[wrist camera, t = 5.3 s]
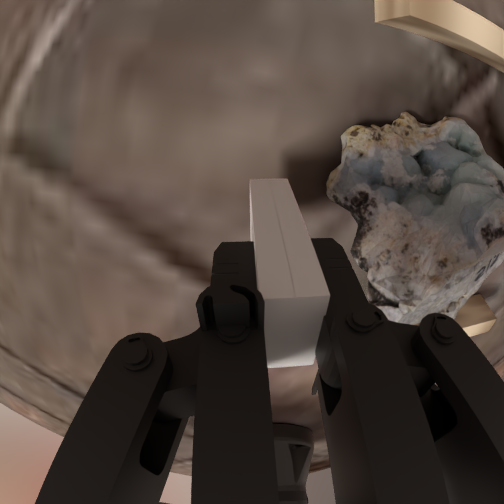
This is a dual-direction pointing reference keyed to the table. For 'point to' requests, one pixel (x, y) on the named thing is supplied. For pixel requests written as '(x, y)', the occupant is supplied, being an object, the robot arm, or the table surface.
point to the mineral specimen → (421, 213)
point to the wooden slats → (465, 40)
